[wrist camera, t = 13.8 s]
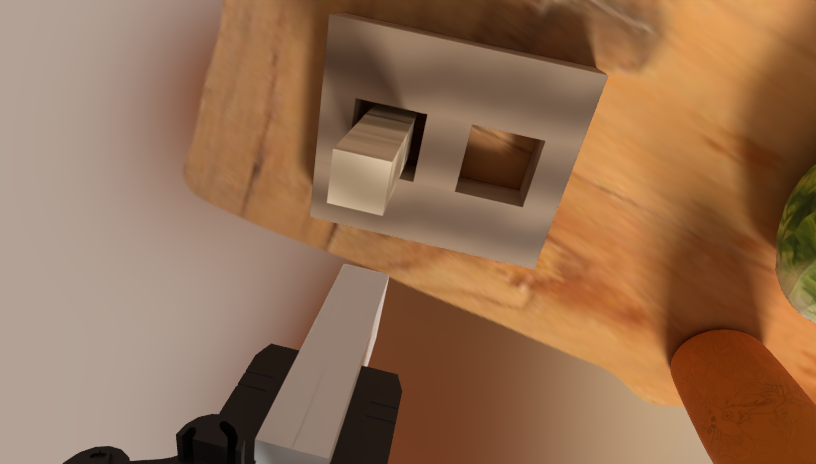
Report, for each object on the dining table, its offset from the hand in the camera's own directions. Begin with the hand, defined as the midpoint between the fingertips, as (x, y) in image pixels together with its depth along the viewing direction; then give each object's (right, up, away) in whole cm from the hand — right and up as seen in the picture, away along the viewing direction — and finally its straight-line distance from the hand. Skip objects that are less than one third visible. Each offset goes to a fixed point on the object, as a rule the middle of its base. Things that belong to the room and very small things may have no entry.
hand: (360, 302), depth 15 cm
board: (+5, +11, +28) cm, 30 cm away
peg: (0, +12, +28) cm, 31 cm away
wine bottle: (+35, -11, +35) cm, 51 cm away
